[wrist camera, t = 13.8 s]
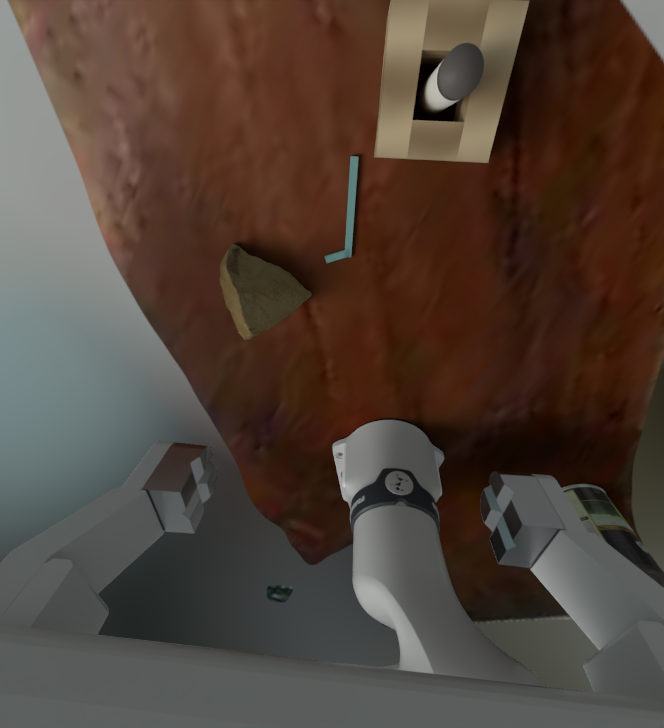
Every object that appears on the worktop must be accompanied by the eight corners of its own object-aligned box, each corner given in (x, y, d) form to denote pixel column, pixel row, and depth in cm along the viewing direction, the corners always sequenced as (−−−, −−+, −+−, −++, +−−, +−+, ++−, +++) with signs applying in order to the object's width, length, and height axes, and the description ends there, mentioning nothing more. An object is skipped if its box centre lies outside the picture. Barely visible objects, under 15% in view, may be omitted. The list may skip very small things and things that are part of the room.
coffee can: (603, 476, 55) (669, 564, 43) (608, 510, 59) (670, 598, 48) (537, 491, 58) (583, 576, 46) (548, 522, 63) (591, 607, 51)
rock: (191, 261, 38) (233, 336, 41) (198, 250, 30) (247, 343, 34) (271, 229, 42) (303, 300, 45) (295, 211, 34) (331, 299, 37)
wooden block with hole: (473, 162, 33) (488, 162, 29) (374, 157, 33) (375, 157, 29) (506, 22, 27) (529, 0, 23) (387, 19, 28) (391, -4, 24)
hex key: (350, 263, 39) (350, 264, 39) (324, 262, 39) (324, 263, 39) (358, 156, 33) (358, 156, 33) (328, 155, 33) (327, 154, 33)
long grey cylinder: (445, 115, 31) (477, 98, 22) (416, 114, 31) (436, 97, 23) (452, 76, 29) (489, 43, 21) (421, 75, 29) (445, 42, 21)
